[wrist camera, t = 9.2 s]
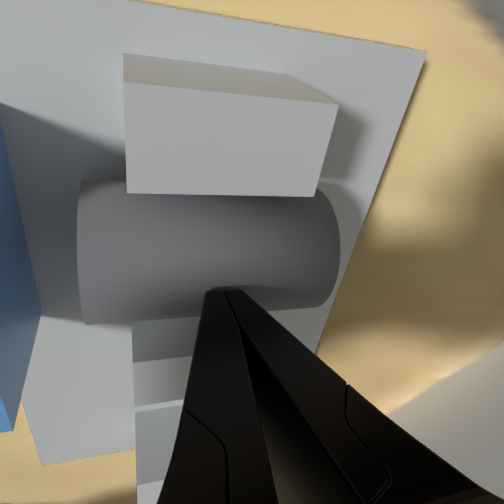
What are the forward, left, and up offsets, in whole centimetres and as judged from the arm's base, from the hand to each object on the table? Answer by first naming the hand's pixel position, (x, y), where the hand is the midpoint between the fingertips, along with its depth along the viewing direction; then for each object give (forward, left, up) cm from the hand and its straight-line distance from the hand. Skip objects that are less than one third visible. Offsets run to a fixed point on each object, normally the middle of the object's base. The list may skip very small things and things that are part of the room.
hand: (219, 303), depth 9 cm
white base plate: (-3, 0, -4) cm, 6 cm away
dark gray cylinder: (0, 0, -4) cm, 4 cm away
